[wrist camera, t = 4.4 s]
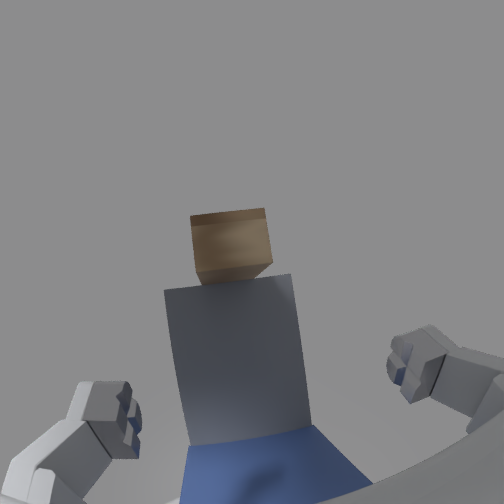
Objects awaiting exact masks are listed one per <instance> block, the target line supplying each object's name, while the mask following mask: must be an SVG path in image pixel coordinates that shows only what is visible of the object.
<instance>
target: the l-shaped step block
mask: <svg viewBox="0 0 504 504" xmlns="http://www.w3.org/2000/svg"><path fill="white" fill-rule="evenodd" d="M164 296H165V304H166V312H167V319H168V326H169V333H170V340H171V346H172V353H173V359H174V364H175V370H176V376H177V381H178V387H179V392H180V397H181V402H182V407H183V412H184V417H185V421H186V426H187V430H188V435H189V439H190V443H191V446H189V448H188V454H187V460H186V466H185V472H184V478H183V484H182V490H181V496H180V503H179V504H315V503H319V502H322V501H326V500H329V499H332V498H336V497H339V496H342V495H345V494H348V493H351V492H353V491H356V490H359V489H362V488H364V487H367V486H370V485H372V484H373V483H372V482H371V481H370V480H369V479H368V478H366V476H364V475H363V474H362V473H361V472H360V471H359V470H358V469H357V468H356V467H355V466H354V465H353V464H352V463H351V462H350V461H349V460H348V459H347V458H346V457H345V456H344V455H343V454H342V453H341V452H340V451H339V450H337V448H336V447H335V446H334V445H333V444H332V443H331V442H330V441H329V440H328V439H327V438H326V437H325V436H324V435H323V434H322V433H321V432H320V431H319V430H318V429H317V428H316V427H315V426H314V425H312V424H311V415H310V407H309V399H308V391H307V383H306V375H305V368H304V360H303V352H302V345H301V339H300V331H299V325H298V317H297V311H296V304H295V298H294V291H293V285H292V279H291V274H284V275H278V276H270V277H263V278H256V279H248V280H240V281H233V282H225V283H217V284H209V285H201V286H193V287H185V288H176V289H167V290H164Z"/></svg>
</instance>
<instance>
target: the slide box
mask: <svg viewBox="0 0 504 504" xmlns="http://www.w3.org/2000/svg"><path fill="white" fill-rule="evenodd" d="M190 220H191V231H192V241H193V250H194V259H195V268H196V273H197V275H198V277H199V280H200V282H201V284H202V285H209V284H217V283H225V282H233V281H240V280H248V279H254V278H255V277H256V276H257V275H259V274H260V273H261V272H262V271H263V270H264V269H266V268H267V267H268V266H269V265H271V264H272V263H273V259H272V253H271V246H270V240H269V234H268V228H267V222H266V216H265V209H264V208H258V209H248V210H239V211H228V212H219V213H212V214H211V213H210V214H202V215H193V216H190Z"/></svg>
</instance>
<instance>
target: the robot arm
mask: <svg viewBox="0 0 504 504" xmlns="http://www.w3.org/2000/svg"><path fill="white" fill-rule="evenodd" d="M391 348H392V350H393V352H392V353H391V354H390V355H389V357H388V360H387V373H388V375H389V377H390V379H391V380H392V382H393V383H394V384H397V385H399V386H401V388H400V392H401V393H402V395H403V396H404V397H405V398H406V400H407V401H408V402H409V403H410V404H412V403H415V402H417V401H420V400H422V399H424V398H427V397H429V396H430V397H431V398H432V399H434V400H436V401H438V402H441V403H442V404H444V405H446V406H448V407H450V408H453V409H454V410H456V411H459V412H461V413H463V414H465V415H467V416H469V417H471V418H472V419H471V421H470V423H469V424H468V426H467V428H466V432H467V433H468V434H469V435H467V436H465V437H464V438H463V439H461V440H460V441H458V442H456V443H454V444H453V445H451V446H449V447H448V448H446V449H444V450H443V451H441V452H439V453H437V454H435V455H434V456H432V457H430V458H428V459H427V460H424V461H422V462H420V463H419V464H417V465H415V466H413V467H411V468H408V469H406V470H404V471H402V472H400V473H398V474H396V475H393V476H391V477H389V478H387V479H384V480H382V481H379V482H377V483H375V484H372V485H370V486H367V487H364V488H362V489H359V490H356V491H353V492H351V493H348V494H345V495H342V496H339V497H336V498H332V499H329V500H326V501H322V502H319V503H315V504H504V358H501V357H497V356H493V355H490V354H486V353H483V352H479V351H476V350H472V349H468V348H465V347H462V348H459V347H458V346H457V345H456V344H455V343H454V342H452V341H451V340H450V339H449V338H448V337H447V336H445V335H444V334H443V333H442V332H441V331H439V330H438V329H437V328H436V327H435V326H433V325H427V326H424V327H421V328H419V329H416V330H413V331H410V332H407V333H404V334H401V335H397V336H395V337H394V338H393V340H392V342H391ZM141 429H142V418H141V411H140V407H139V405H138V403H137V401H136V400H134V399H133V398H132V389H131V387H130V384H129V383H128V382H126V381H120V382H119V381H113V382H112V381H108V382H107V381H105V382H104V381H96V382H86V381H82V382H80V383H79V384H78V386H77V388H76V391H75V394H74V397H73V399H72V402H71V405H70V408H69V411H68V414H67V417H66V419H65V420H60V421H59V422H58V423H56V424H55V425H54V426H53V427H51V428H50V429H49V430H48V431H47V432H46V433H44V434H43V435H42V436H41V437H39V438H38V439H37V440H36V441H34V442H33V443H32V444H31V445H29V446H28V447H27V448H26V449H25V450H23V451H22V452H21V453H20V454H18V455H17V456H16V457H15V458H13V459H12V461H11V463H10V466H9V469H8V472H7V475H6V478H5V481H4V484H3V487H2V491H1V493H0V504H86V502H84V501H83V500H82V499H83V498H84V496H85V495H86V494H87V493H88V491H89V490H90V489H91V487H92V486H93V485H94V484H95V482H96V481H97V480H98V478H99V477H100V476H101V475H102V473H103V472H104V471H105V469H106V468H107V467H108V466H109V464H110V463H111V462H112V459H139V449H140V440H139V438H138V437H137V434H138V433H139V432H140V431H141Z"/></svg>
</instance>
